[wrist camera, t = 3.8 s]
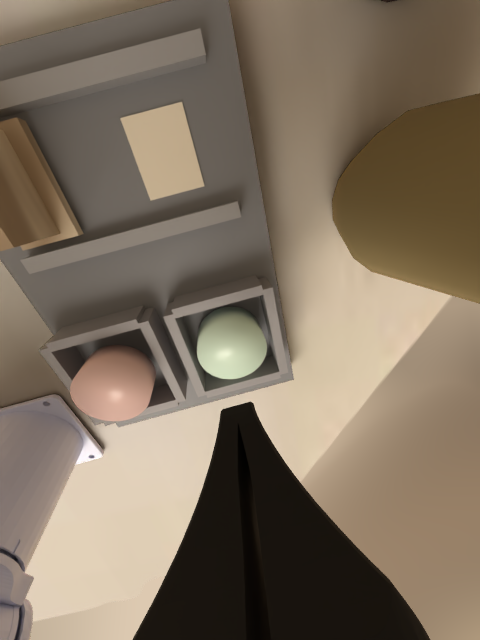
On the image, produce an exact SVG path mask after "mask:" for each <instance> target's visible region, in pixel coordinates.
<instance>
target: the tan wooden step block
mask: <svg viewBox="0 0 480 640" xmlns="http://www.w3.org/2000/svg"><path fill="white" fill-rule="evenodd" d="M82 234H84V233H83V231H82V230H81V228H80V226H79V224H78V222H77V220H76V218H75V216H74V214H73V212H72V210H71V208H70V206H69V204H68V202H67V200H66V198H65V197H64V195H63V193H62V191H61V189H60V187H59V185H58V183H57V181H56V179H55V177H54V175H53V173H52V171H51V169H50V167H49V165H48V164H47V162H46V160H45V158H44V156H43V154H42V152H41V150H40V148H39V146H38V144H37V142H36V140H35V138H34V136H33V134H32V133H31V131H30V129H29V127H28V125H27V123H26V121H25V120H22V119H20V118H17V117H16V118H12V119H9V120H5V121H1V122H0V251H3V250H7V249H11V248H14V247H18V246H20V247H21V248H22V250H27V249H31V248H35V247H38V246H42V245H46V244H49V243H53V242H57V241H61V240H64V239H68V238H72V237H75V236H79V235H82Z"/></svg>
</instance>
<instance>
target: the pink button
mask: <svg viewBox="0 0 480 640" xmlns="http://www.w3.org/2000/svg"><path fill="white" fill-rule="evenodd" d="M155 379H156V370H155V367H154V364H153V363H152V361H151V360H150V358H149V357H148V356H146V355H145V354H144V353H143V352H141V351H139V350H137V349H135V348H132V347H129V346H124V345H109V346H105V347H102V348H100V349H97V350H96V351H94V352H93V353H92V354H91V355H90V356H89V357H88V359H87V360H86V362H85V363H84V364H83V366H82V367H81V369H80V370H79V372H78V373H77V374H76V376H75V377H74V379H73V381H72V383H71V386H70V394H71V398H72V400H73V402H74V403H75V405H76V406H77V407H78V408H79V409H80V410H81V411H83V412H84V413H85V414H87V415H89V416H91V417H94V418H96V419H100V420H104V421H124V420H128V419H131V418H134V417H136V416H138V415H139V414H141V413H142V412H143V411H144V410H145V409H146V408H147V406H148V404H149V402H150V398H151V394H152V390H153V387H154V383H155Z"/></svg>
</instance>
